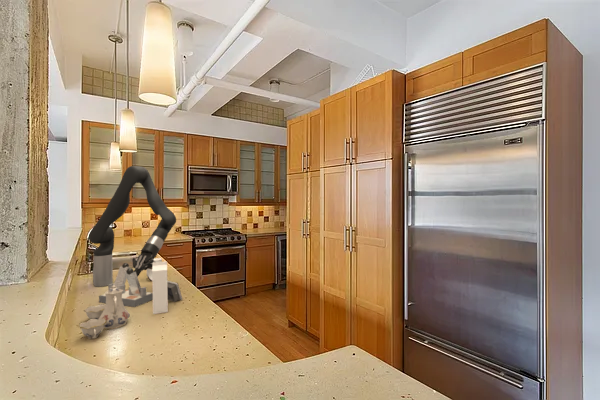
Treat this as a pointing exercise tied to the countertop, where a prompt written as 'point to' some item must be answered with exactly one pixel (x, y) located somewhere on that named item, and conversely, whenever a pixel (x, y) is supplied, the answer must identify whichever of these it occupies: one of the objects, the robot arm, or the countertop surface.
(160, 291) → the milk
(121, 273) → the lever inner
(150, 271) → the spread jar
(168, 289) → the electrical switch
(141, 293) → the switch panel
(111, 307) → the chinaware
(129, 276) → the lever outer
